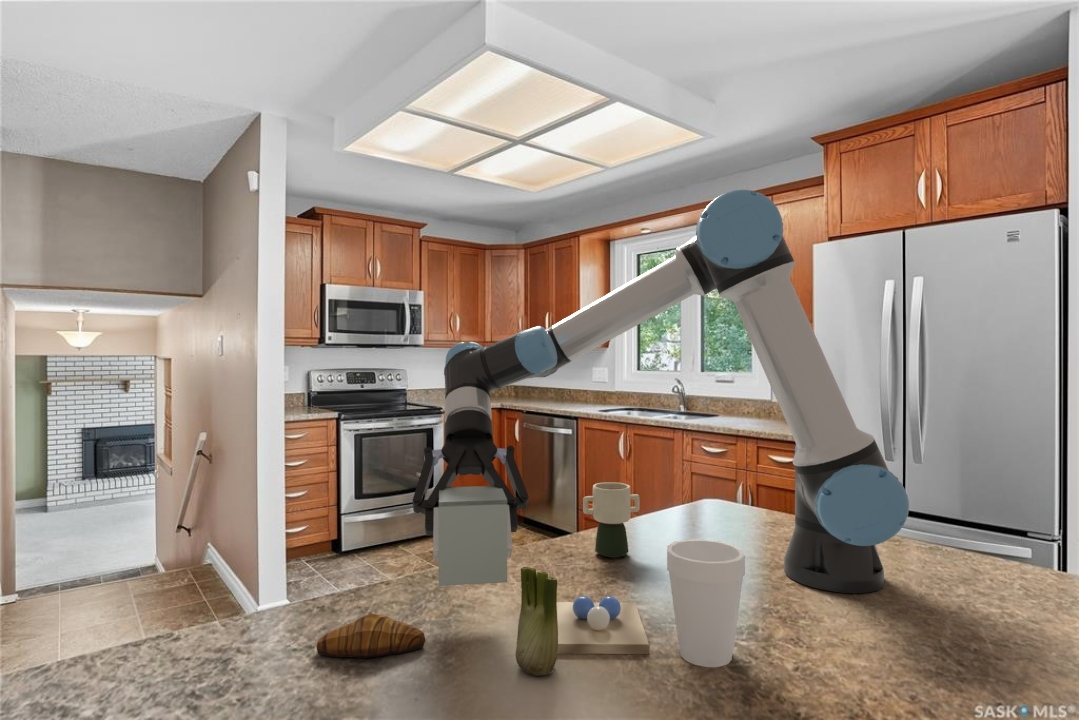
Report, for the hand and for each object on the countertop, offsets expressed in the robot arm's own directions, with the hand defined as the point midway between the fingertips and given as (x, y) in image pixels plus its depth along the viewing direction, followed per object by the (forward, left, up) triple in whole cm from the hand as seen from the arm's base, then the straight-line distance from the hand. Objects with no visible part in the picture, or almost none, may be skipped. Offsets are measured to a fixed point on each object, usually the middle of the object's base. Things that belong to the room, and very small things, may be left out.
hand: (472, 554), depth 82 cm
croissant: (+12, +5, -11) cm, 17 cm away
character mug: (-22, -33, -11) cm, 41 cm away
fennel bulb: (-9, +9, -11) cm, 17 cm away
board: (-15, -1, -11) cm, 18 cm away
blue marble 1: (-15, -2, -10) cm, 18 cm away
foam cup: (-30, +5, -11) cm, 32 cm away
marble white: (-17, +1, -10) cm, 19 cm away
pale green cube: (+1, -3, -4) cm, 5 cm away
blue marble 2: (-19, -2, -10) cm, 21 cm away
